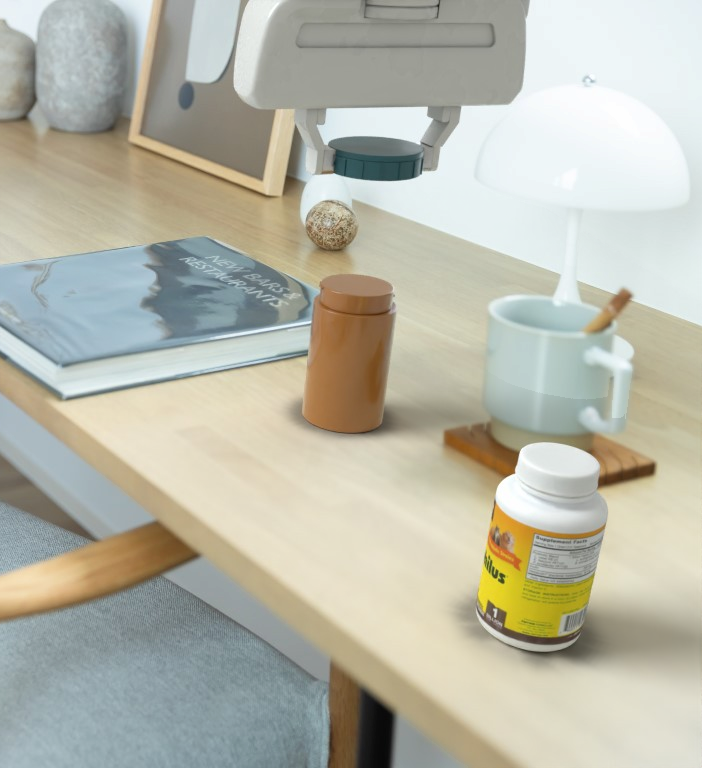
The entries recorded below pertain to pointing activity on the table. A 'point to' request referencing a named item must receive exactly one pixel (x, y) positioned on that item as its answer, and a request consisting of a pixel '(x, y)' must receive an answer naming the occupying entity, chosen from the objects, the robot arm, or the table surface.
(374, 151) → the lid
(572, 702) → the table surface
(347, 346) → the jar
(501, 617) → the supplement bottle
